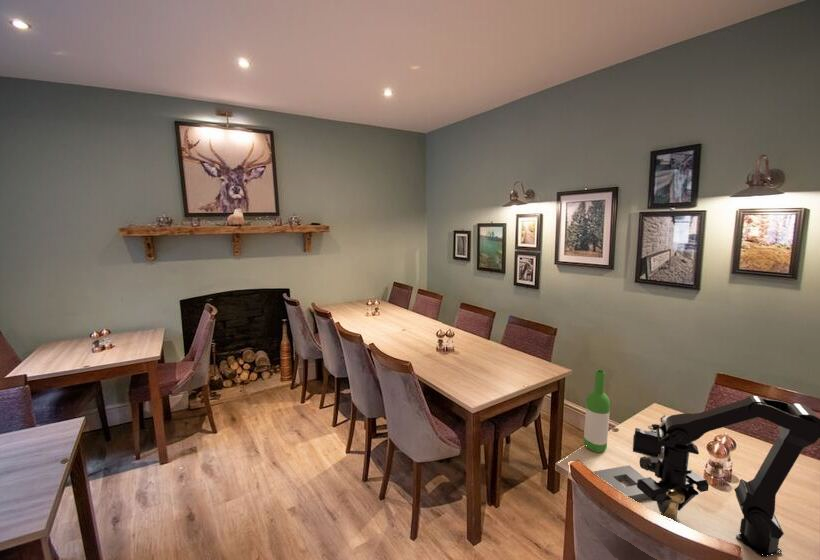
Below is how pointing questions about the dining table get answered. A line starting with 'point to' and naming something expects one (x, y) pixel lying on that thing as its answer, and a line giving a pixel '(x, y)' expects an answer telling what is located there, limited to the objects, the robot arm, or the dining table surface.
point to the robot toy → (663, 420)
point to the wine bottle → (597, 416)
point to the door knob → (674, 503)
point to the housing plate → (623, 474)
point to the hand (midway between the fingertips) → (669, 511)
